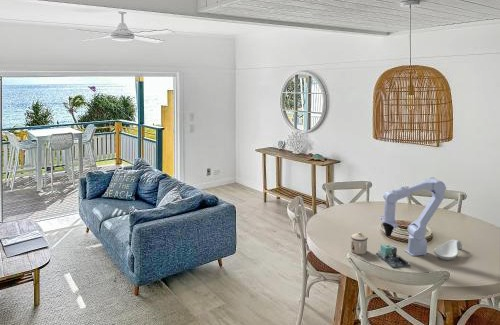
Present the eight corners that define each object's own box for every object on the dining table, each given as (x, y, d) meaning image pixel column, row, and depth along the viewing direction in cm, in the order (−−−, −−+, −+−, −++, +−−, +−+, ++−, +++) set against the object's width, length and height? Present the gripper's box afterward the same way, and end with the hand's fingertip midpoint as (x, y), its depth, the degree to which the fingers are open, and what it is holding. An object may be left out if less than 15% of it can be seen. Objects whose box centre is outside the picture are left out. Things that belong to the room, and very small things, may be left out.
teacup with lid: (350, 247, 232) (350, 229, 230) (366, 248, 230) (367, 229, 228) (351, 256, 220) (352, 236, 218) (368, 257, 219) (369, 237, 216)
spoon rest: (452, 264, 208) (453, 252, 207) (429, 258, 217) (430, 245, 216) (468, 251, 224) (469, 239, 223) (446, 245, 233) (447, 234, 231)
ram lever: (393, 255, 218) (393, 244, 217) (399, 260, 212) (399, 249, 211) (386, 256, 217) (386, 245, 216) (392, 260, 211) (393, 250, 210)
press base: (391, 252, 224) (392, 248, 224) (410, 265, 208) (410, 261, 207) (375, 254, 222) (376, 250, 222) (392, 268, 206) (393, 264, 205)
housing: (388, 250, 223) (389, 242, 222) (393, 254, 218) (394, 246, 217) (380, 251, 222) (380, 243, 221) (385, 255, 217) (385, 246, 216)
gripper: (376, 209, 225) (375, 231, 227) (390, 217, 211) (388, 241, 214) (387, 208, 226) (386, 230, 229) (402, 216, 212) (400, 240, 215)
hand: (388, 236), depth 221 cm, fingers closed
